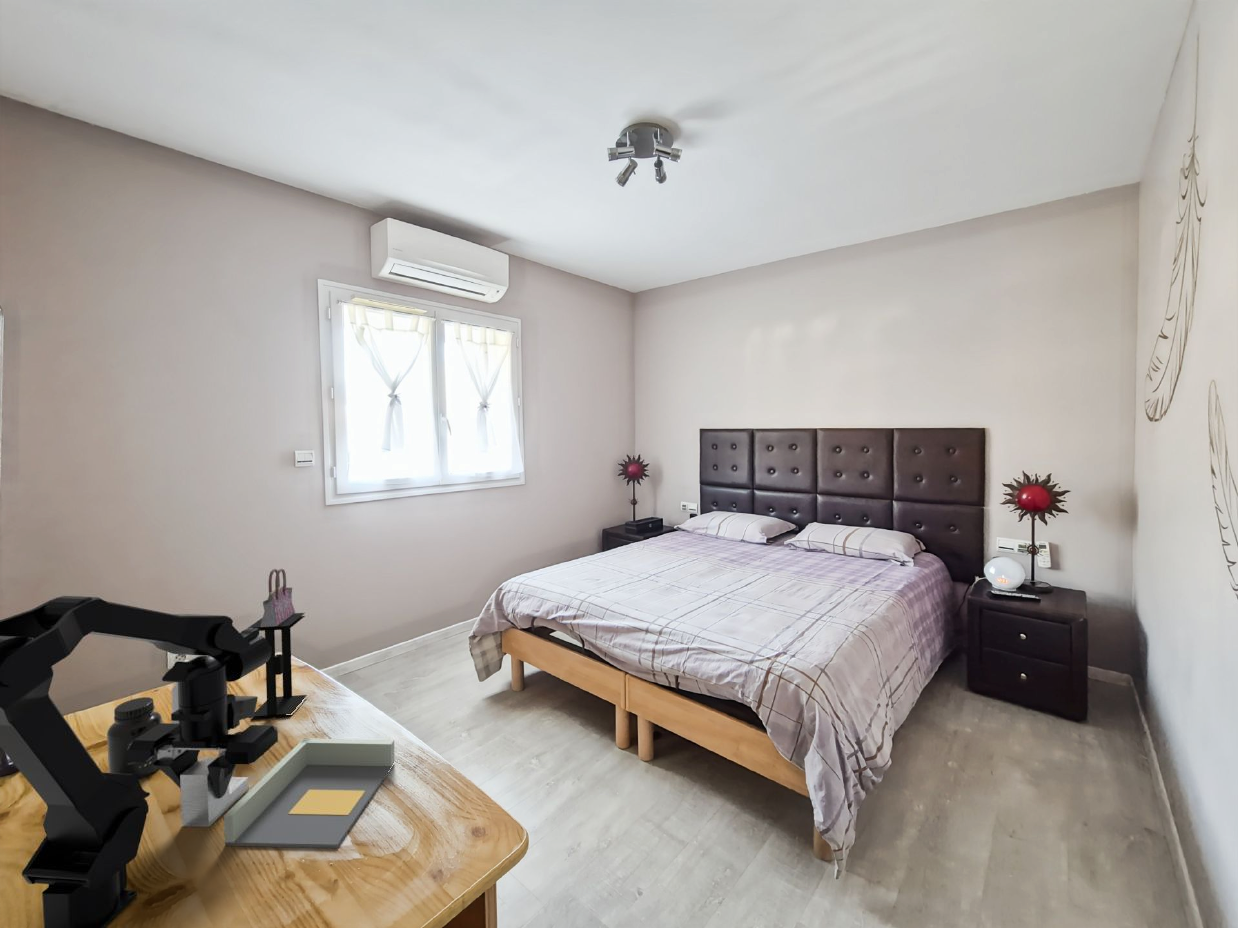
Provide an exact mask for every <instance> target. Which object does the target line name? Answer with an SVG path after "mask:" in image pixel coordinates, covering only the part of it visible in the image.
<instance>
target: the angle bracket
mask: <svg viewBox="0 0 1238 928" xmlns="http://www.w3.org/2000/svg"><path fill="white" fill-rule="evenodd" d="M216 758H217V757H209V756H208V757H205V756H204V757H203V756H202V757H201V758H200V759H199V760H198V761H197V762H196V763H195V764H193V765H192V766H191V767H190V768H188V769H187V770H186V771H184V772H183V773H182V774H181V775H180V783H181V789H180V805H181V823H182V824H181V826H182V827H193V828H194V827H199V828H200V827H202V828H209V827H211V826H212V825H213V824H214V823H215V822H216V821H217V820H218V819H219V818H220V817H221V816H222V815H223V814H224V813H225V812H226V811H228V810H229V808H231V807H232V806H234V805H235V804H236V803H237V802H238V800H239V799H241V798H242V797H243V795H244V794H245V793H246V792H247V791H248V790H249V789H250V786H249V785H250V784H249V783H250V781H249V776H246V777H245V776H232V777H231V780H230V782H229V785H228V788H227V790H226V793H225V795H224V796H222V797H221V798H220V799H218V798H217V797H216V794H215V792H214V789H213V785H212V782H211V778H210V775H209V771H208V767H207V766H208V765H209V764H210V763H211V762H213V761H214V760H215V759H216ZM233 804H234V805H233Z"/></svg>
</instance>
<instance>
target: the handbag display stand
mask: <svg viewBox="0 0 1238 928" xmlns="http://www.w3.org/2000/svg"><path fill="white" fill-rule="evenodd" d="M274 573H275V579H274V580H275V582H274V583H275V584H274V586H275V589H274V590H273V589H272V587H273V586H272V584H273V581H272V580H273V575H274ZM280 573H281V574H282V581H283V582H282V585H280V583H281V581H280ZM292 593H293V587H287V576H286V570H285V569H284V568H280V569H277V568H273V569H272V570H271V571H270V572H269V574H268V597H267V599H265V600H264V601H262V607H263V609H264V610H263V611H264V612H263V615H262V617H261V618H260V619H258V620H257V621H256V622H255V623H253V624H251V625H250V626H248V627H247V628H256V629H259V632H260V631H261V632H262V631H263V632H264V638H265V639H266V640H267V642H268V643H269V645H270V647H271V650H272V652H271V656H270V659H269V660H268V661H267V662H266V663H265V682H266V683H265V684H266V685H265V686H266V687H265V688H266V689H265V690H266V700H265V701H264V703H262V704H261V705H260V706H259V707H258V709H256V710H255V714H254V717H253V718H250V720H251V721H255V720H269V719H270V720H271V719H282V718H283V719H284V718H292V717H293V715H286V714H291V713H292V712H293V711H294V710H295V709H296V707H297V706H298V705H299V704H300V703H301V702H302V700H303V699H304V698H307V694H301V695H300V694H299V695H293V681H292V680H293V677H292V676H293V675H292V642H291V641H292V639H291V636H292V635H291V628H293V627H294V626H295V625H296V624H298V622H300V621H301V620H302V619H303V618H305V617H306V615H304V614H306V612H296V610H295V608H294V605H293V604H294V603H293V600H292V599H293V598H292V597H293V596H292V595H293V594H292ZM276 631H281V632H280V633H281V635H280V636H281V653H280V654H276V639H275V638H276V637H275V636H276V635H275V632H276ZM279 675H282V696H277V676H279Z"/></svg>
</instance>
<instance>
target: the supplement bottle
mask: <svg viewBox="0 0 1238 928" xmlns="http://www.w3.org/2000/svg"><path fill="white" fill-rule="evenodd" d="M113 710H114V711H113V713H114V714H113V715H114V717H113V721H114V722H113V723H112V724H111V725H110V726H109V727H108V729H107V732H106V738H107V739H106V741H107V759H108V761H107V762H108V773H120V774H134V775H136V777H137V778H138V779H139V780H141V779H144V778H145V777H148V776H150V775H152V774H153V773H154V772H156V771H158V770H159V768H157V767H153V763H154V762H155V761H157V760H158V756H157V752H155V749H156V748H155V749H154V756H153V757H152V758H151V759H150V760H148V761H147V762H128V748H129V746H130V744H131V743H132V741H133V740H135V739H136V738H138V737H139V736H141V735H142V734H144V733H146V732H147V731H149V730H150V729H152V728H154V727H155V726H157V725H158V724H160V723H163V717H162V715H161V714H160V713H159V712H157V711H155V705H154V699H153V698H152V697H147V696H145V697H144V696H143V697H137V698H133V699H130V700H127V701H124V702H123V703H120V704H119V705H116V707H114V709H113Z"/></svg>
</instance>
